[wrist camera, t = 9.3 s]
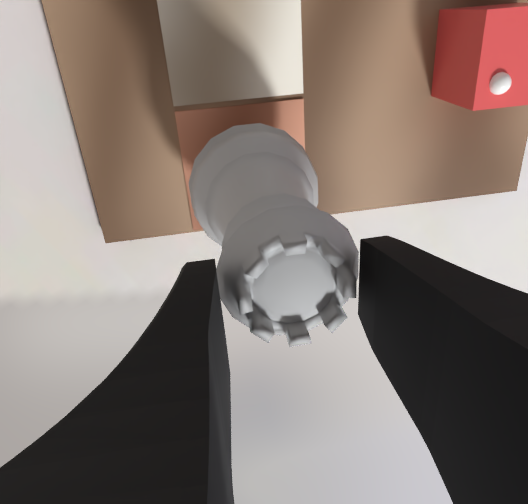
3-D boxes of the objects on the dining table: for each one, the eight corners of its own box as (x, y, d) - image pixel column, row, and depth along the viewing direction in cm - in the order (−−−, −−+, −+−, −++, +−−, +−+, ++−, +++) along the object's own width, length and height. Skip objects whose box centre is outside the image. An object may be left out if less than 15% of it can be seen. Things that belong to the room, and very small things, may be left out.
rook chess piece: (161, 177, 16) (139, 291, 9) (261, 92, 15) (324, 142, 8) (242, 262, 18) (278, 413, 11) (334, 189, 17) (438, 300, 10)
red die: (517, 2, 17) (586, 1, 14) (503, 88, 18) (563, 103, 15) (439, 9, 17) (493, 9, 14) (431, 95, 18) (478, 112, 15)
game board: (559, -81, 16) (573, -84, 16) (508, 186, 21) (518, 191, 20) (34, -45, 15) (27, -48, 14) (107, 237, 19) (105, 244, 19)
